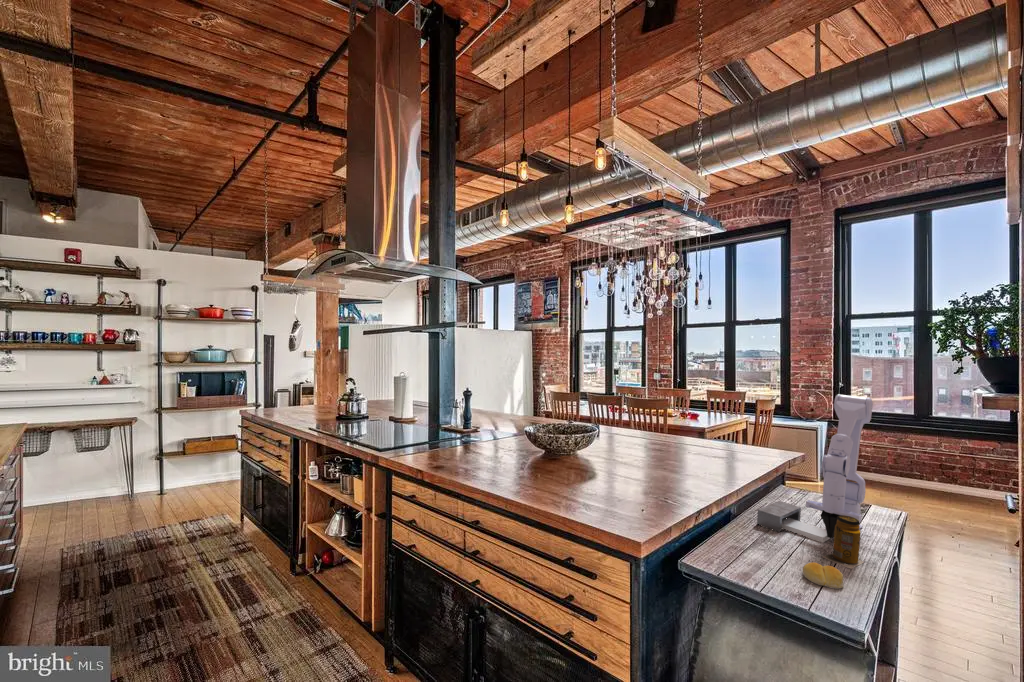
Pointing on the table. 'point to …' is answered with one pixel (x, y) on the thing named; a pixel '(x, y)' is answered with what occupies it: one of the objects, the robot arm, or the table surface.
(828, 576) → the bread roll
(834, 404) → the robot arm
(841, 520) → the condiment
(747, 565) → the table surface
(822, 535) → the tile
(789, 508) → the grey c-shaped bracket
